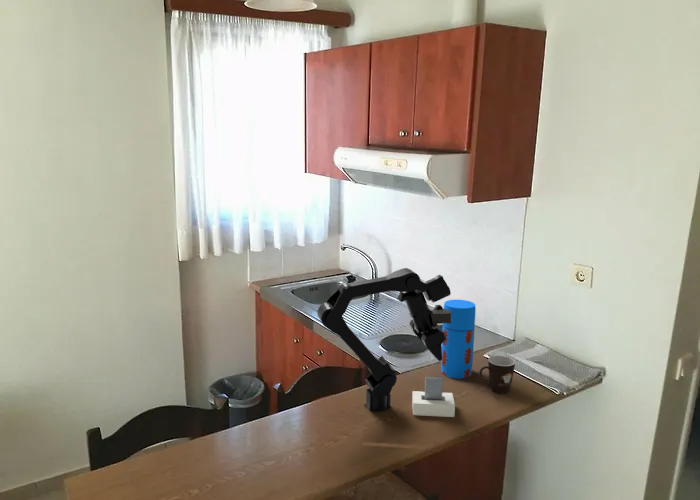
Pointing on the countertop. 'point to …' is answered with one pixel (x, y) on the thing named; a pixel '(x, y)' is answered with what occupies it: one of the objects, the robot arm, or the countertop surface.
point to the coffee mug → (500, 373)
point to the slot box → (433, 405)
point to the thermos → (458, 339)
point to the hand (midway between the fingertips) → (436, 355)
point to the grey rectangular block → (433, 388)
